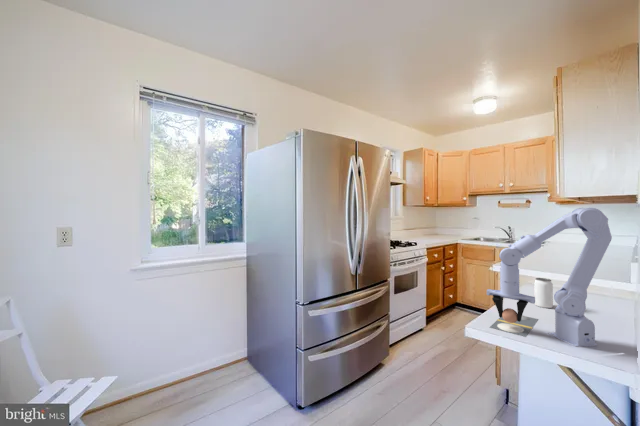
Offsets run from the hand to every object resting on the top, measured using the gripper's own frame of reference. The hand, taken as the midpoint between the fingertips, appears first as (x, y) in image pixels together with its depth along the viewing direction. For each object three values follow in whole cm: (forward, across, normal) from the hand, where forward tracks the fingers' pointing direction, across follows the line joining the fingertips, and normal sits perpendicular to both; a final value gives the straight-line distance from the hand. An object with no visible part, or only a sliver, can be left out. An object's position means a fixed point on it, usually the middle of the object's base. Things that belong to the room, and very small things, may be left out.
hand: (510, 318), depth 101 cm
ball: (-1, 0, 0) cm, 1 cm away
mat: (+4, 0, -6) cm, 8 cm away
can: (+4, -4, -39) cm, 39 cm away
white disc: (+3, 0, 0) cm, 3 cm away
